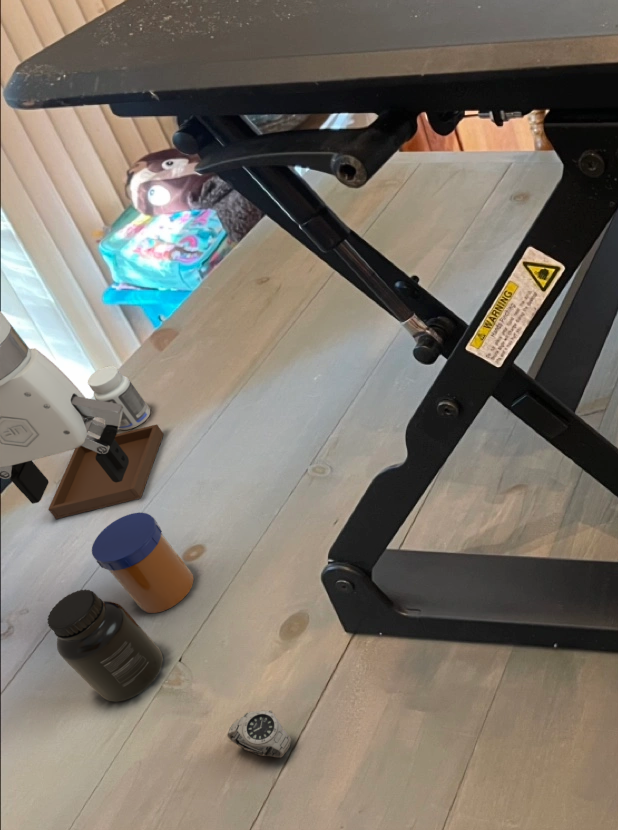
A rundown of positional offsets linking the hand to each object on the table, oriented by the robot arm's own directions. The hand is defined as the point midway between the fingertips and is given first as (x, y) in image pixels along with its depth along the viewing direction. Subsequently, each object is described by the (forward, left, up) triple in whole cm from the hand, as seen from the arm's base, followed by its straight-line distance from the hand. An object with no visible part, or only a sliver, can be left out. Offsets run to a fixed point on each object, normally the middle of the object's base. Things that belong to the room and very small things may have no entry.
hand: (81, 482), depth 111 cm
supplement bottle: (-1, -11, -19) cm, 22 cm away
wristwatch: (+16, -24, -19) cm, 34 cm away
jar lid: (0, 0, -9) cm, 9 cm away
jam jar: (0, 0, -19) cm, 19 cm away
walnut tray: (-13, +23, -19) cm, 32 cm away
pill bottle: (-13, +34, -19) cm, 41 cm away
